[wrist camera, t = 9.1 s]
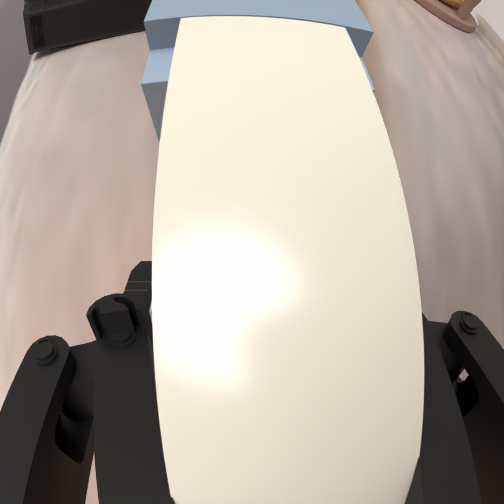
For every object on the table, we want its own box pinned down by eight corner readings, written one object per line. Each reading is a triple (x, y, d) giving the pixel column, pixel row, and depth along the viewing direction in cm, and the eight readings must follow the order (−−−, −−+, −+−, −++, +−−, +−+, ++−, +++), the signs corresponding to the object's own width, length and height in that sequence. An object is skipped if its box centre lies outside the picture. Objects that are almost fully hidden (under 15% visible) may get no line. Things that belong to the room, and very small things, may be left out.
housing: (300, 210, 22) (390, 64, 8) (184, 213, 21) (132, 53, 7) (281, 75, 25) (313, -56, 11) (192, 75, 25) (182, -61, 10)
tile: (288, 433, 14) (390, 578, 3) (214, 438, 14) (202, 610, 2) (274, 203, 17) (345, 27, 6) (204, 204, 17) (180, 18, 5)
